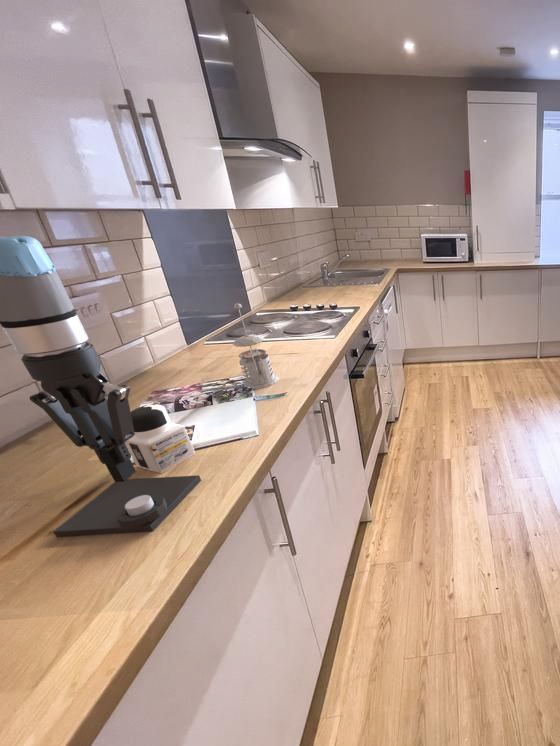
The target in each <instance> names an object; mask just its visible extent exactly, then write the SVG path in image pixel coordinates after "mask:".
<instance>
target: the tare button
mask: <svg viewBox="0 0 560 746" xmlns="http://www.w3.org/2000/svg"><path fill="white" fill-rule="evenodd" d="M153 507H154V502H153V500H152V498H151V497H150V496H149V495H143V496H139V497H136V498H134V499H132V500H130V501H129V502H127V503H126V505H125V509H126V510H127V512H128V514H129V515H130V516H137V515H140V514H144V513H145V512H147V511H149V510H151V509H152V508H153Z"/></svg>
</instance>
